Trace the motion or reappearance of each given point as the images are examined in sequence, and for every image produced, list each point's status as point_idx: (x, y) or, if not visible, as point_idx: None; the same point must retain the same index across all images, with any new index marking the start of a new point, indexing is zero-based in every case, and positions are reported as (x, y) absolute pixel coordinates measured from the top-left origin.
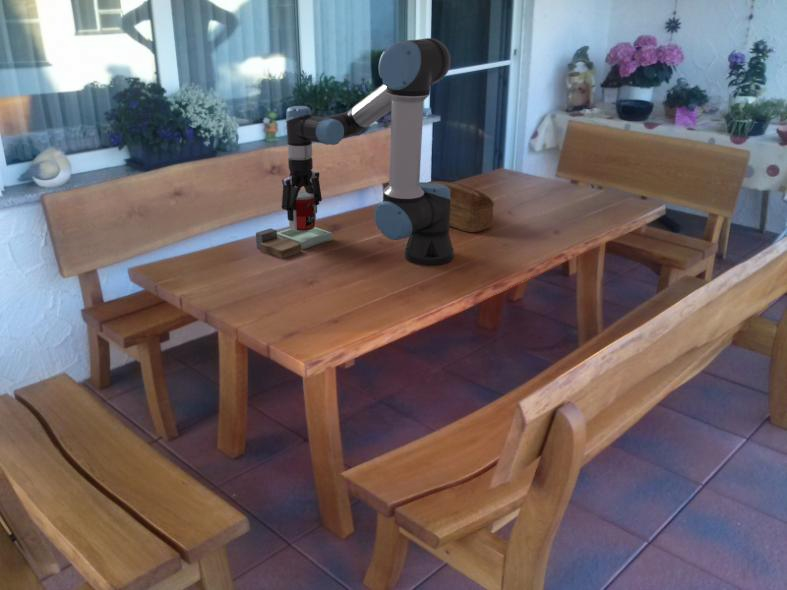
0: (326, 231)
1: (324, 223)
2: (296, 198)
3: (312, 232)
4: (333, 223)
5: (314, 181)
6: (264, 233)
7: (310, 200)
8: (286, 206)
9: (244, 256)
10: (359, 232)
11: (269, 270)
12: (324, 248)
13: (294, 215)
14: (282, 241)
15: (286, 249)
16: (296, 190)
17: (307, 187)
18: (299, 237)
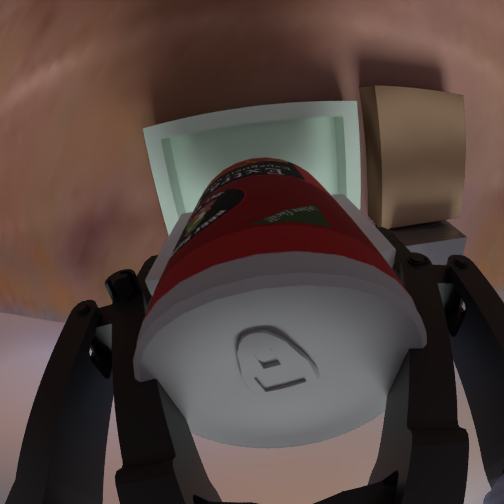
0: (156, 157)
1: (105, 300)
2: (422, 333)
3: None
4: (80, 283)
5: (69, 488)
6: (453, 244)
7: (264, 238)
8: (480, 277)
9: (484, 203)
10: (38, 152)
11: (497, 66)
12: (251, 50)
13: (380, 233)
14: (407, 175)
15: (445, 92)
16: (450, 425)
17: (190, 470)
18: None
